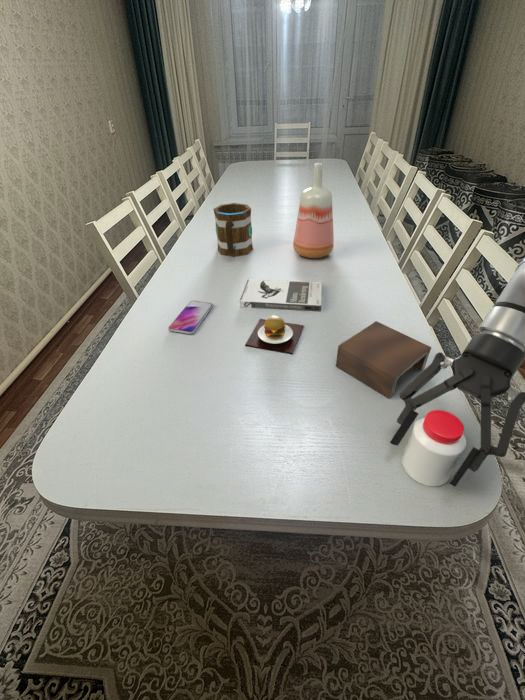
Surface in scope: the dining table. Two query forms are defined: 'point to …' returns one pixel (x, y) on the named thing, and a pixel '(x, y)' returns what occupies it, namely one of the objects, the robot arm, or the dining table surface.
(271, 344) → the hamburger
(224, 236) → the mug
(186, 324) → the smartphone
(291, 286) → the book
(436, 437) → the pill bottle
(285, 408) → the dining table surface
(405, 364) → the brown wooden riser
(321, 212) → the vase
